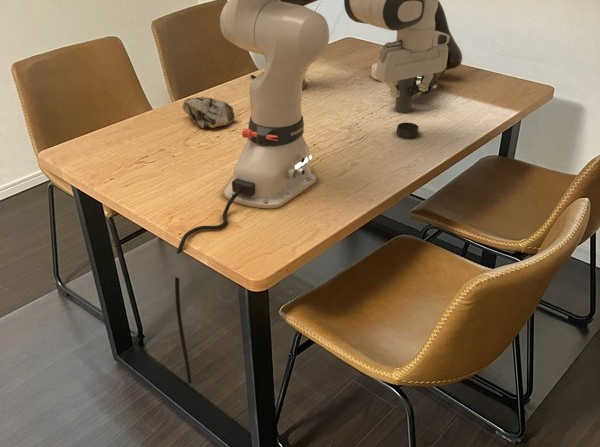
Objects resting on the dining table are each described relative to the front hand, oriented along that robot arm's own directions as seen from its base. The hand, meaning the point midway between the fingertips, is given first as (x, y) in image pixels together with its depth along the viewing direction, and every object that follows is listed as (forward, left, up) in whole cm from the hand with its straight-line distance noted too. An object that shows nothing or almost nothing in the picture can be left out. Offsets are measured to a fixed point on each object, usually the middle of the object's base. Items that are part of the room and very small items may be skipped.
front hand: (409, 93), depth 156 cm
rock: (-12, +53, -11) cm, 55 cm away
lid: (+1, 0, -10) cm, 10 cm away
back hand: (+14, +6, -5) cm, 16 cm away
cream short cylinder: (+41, +19, -11) cm, 46 cm away
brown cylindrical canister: (+16, +6, -11) cm, 21 cm away
